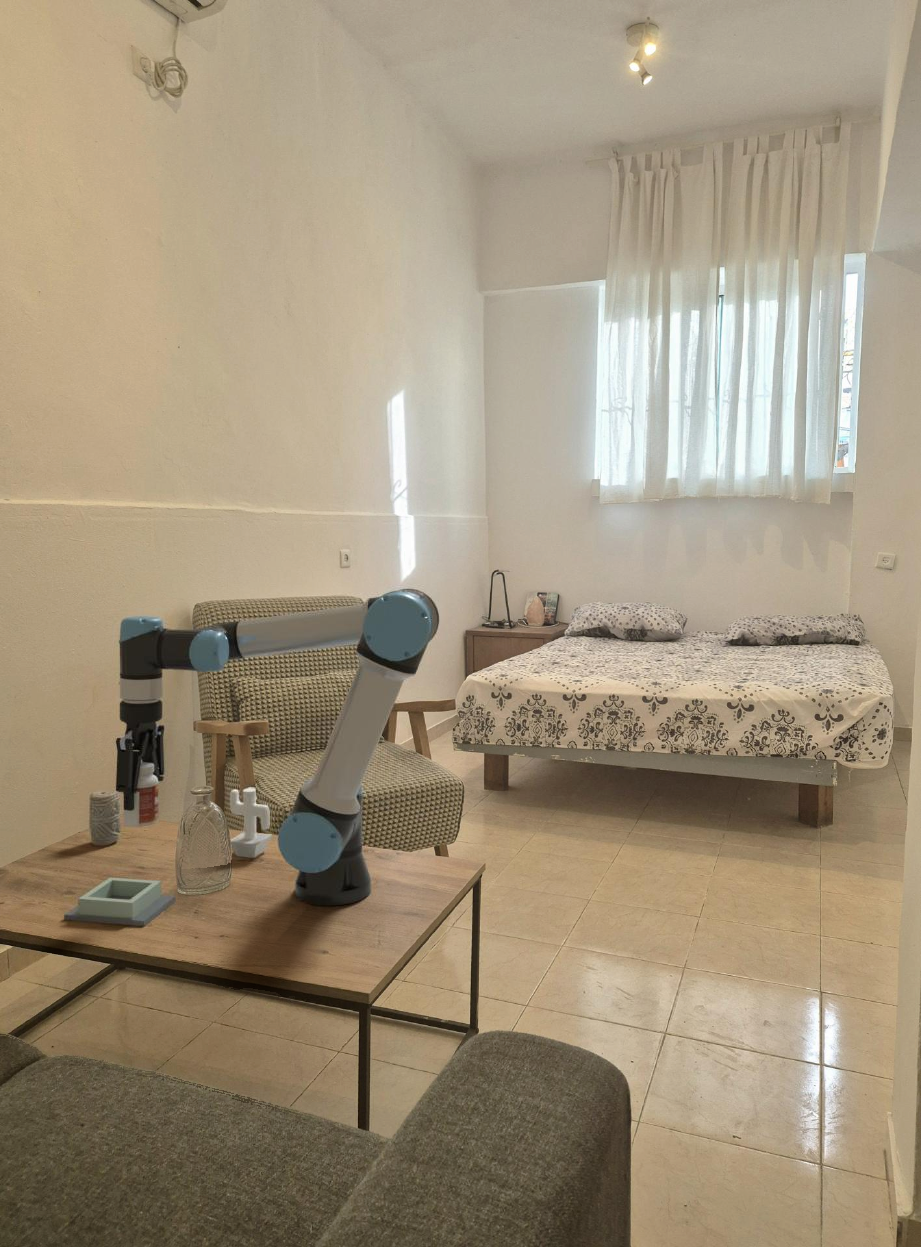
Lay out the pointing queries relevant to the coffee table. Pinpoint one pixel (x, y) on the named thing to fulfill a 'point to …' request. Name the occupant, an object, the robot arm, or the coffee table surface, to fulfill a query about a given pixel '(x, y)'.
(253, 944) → the coffee table surface
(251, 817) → the figurine
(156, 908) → the bottle holder
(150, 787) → the pill bottle
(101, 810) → the carving
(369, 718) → the robot arm
